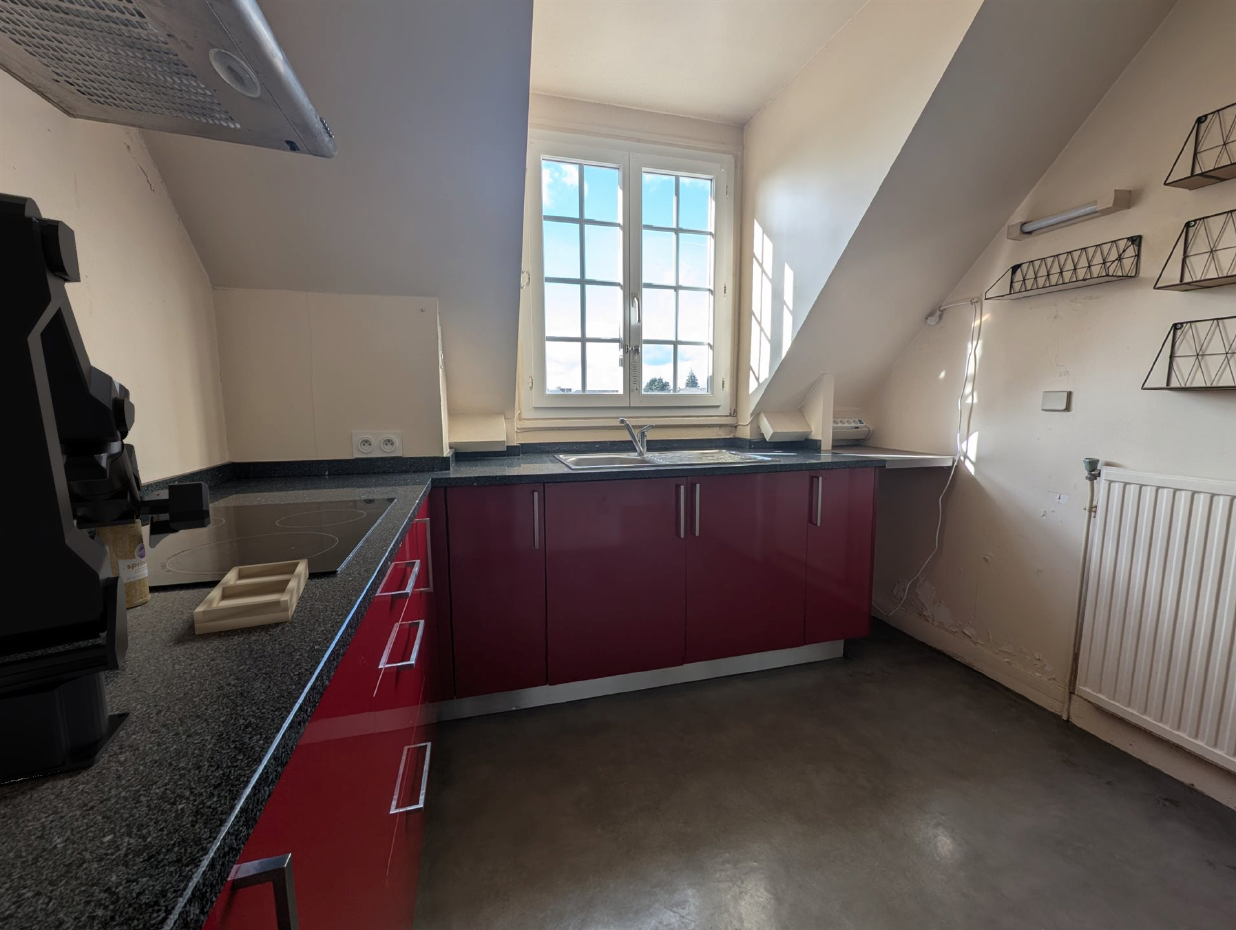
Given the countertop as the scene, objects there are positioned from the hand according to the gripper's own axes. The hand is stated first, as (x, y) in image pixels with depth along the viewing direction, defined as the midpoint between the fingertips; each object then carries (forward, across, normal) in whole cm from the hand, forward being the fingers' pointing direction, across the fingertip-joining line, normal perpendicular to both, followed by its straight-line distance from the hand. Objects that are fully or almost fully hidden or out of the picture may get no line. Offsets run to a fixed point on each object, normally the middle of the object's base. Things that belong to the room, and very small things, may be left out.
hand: (123, 548), depth 67 cm
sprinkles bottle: (+4, 0, +6) cm, 7 cm away
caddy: (-3, -14, +13) cm, 19 cm away
